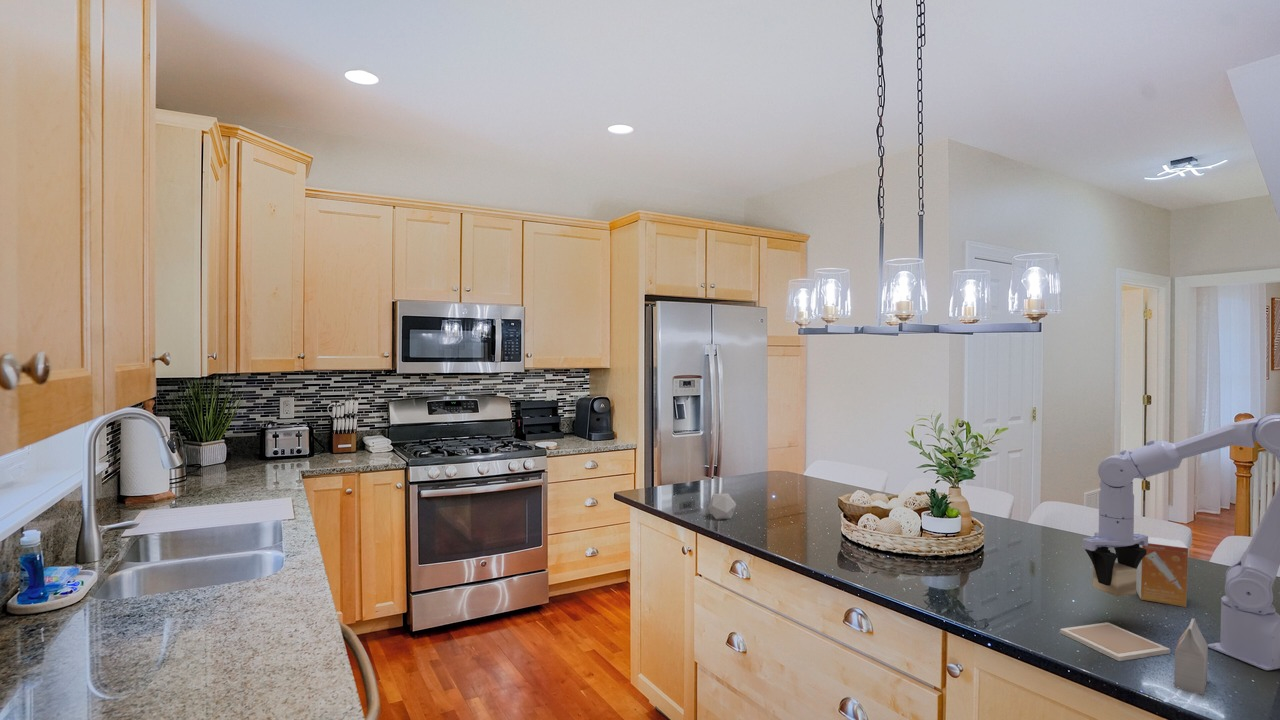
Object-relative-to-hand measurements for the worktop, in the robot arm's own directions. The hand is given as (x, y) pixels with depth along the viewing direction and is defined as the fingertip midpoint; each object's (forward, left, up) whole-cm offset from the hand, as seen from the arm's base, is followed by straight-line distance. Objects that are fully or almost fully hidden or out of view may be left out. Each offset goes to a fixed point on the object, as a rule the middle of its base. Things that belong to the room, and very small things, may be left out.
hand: (1115, 582), depth 132 cm
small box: (+8, -23, -9) cm, 25 cm away
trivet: (-6, +8, -8) cm, 14 cm away
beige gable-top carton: (-21, +10, -9) cm, 25 cm away
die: (+97, +45, -9) cm, 107 cm away
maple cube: (0, 0, -2) cm, 2 cm away
